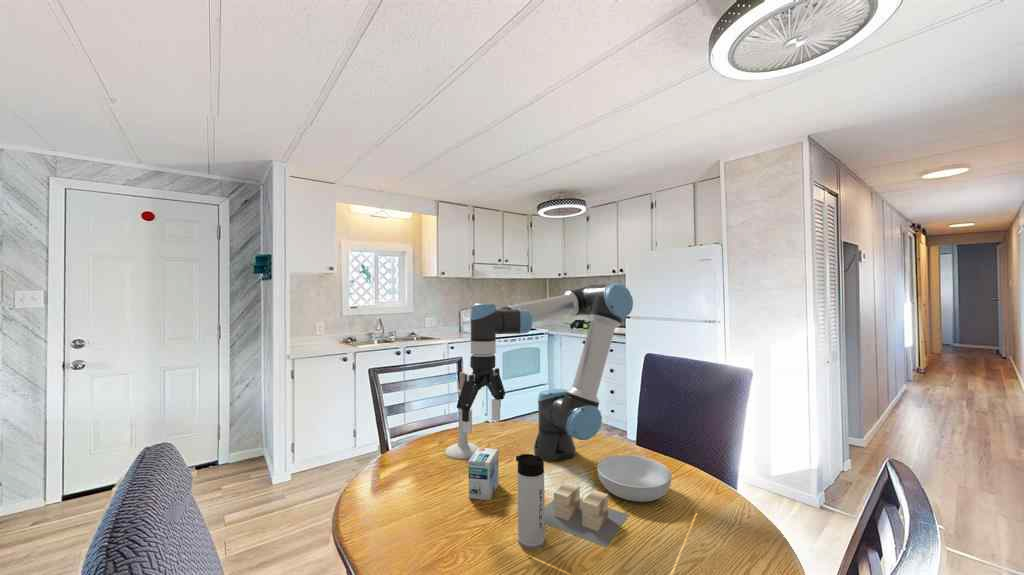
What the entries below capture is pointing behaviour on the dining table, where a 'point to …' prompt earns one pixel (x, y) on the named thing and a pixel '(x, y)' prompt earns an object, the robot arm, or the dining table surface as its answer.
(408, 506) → the dining table surface
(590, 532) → the mat
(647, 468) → the serving bowl
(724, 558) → the dining table surface
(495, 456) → the light bulb box
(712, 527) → the dining table surface
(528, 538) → the travel mug
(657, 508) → the dining table surface
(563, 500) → the beige wooden block
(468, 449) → the candlestick
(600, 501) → the block
